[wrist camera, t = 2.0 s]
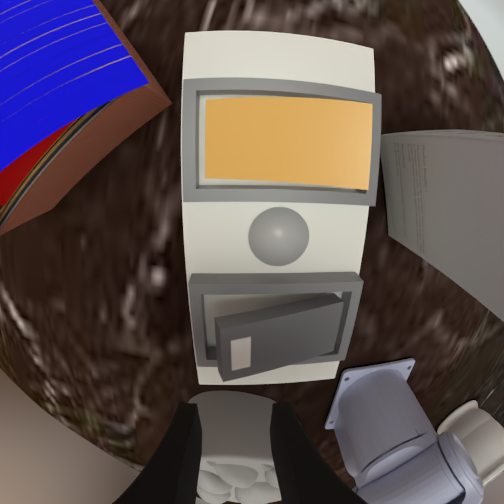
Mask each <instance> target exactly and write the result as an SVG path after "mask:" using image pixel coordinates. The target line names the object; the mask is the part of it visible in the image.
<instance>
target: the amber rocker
mask: <svg viewBox="0 0 504 504" xmlns="http://www.w3.org/2000/svg"><path fill="white" fill-rule="evenodd" d="M372 105H373V104H370V103H362V102H354V101H344V100H334V99H320V98H302V97H241V98H222V99H209V100H206V119H205V179H238V180H259V181H276V182H291V183H304V184H315V185H326V186H336V187H345V188H354V189H362V190H368V187H369V175H370V162H371V144H372Z"/></svg>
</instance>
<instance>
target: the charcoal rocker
mask: <svg viewBox="0 0 504 504" xmlns="http://www.w3.org/2000/svg"><path fill="white" fill-rule="evenodd" d="M343 304H344V301H343V300H342V299H341V298H339V297H338V296H337V295H336V294H334V293H332V294H328V295H324V296H319V297H315V298H311V299H306V300H302V301H297V302H292V303H288V304H283V305H278V306H273V307H268V308H263V309H258V310H253V311H248V312H242V313H237V314H231V315H226V316H220V317H214V322H215V338H216V353H217V366H218V372H219V374H220V376H221V379H222V381H223V382H226V381H230V380H235V379H239V378H243V377H247V376H251V375H255V374H259V373H263V372H267V371H270V370H274V369H277V368H281V367H284V366H288V365H291V364H295V363H298V362H301V361H304V360H307V359H311V358H314V357H317V356H320V355H323V354H326V353H329V352H331V351H333V350H334V346H335V342H336V338H337V333H338V329H339V324H340V319H341V314H342V309H343Z"/></svg>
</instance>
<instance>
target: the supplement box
mask: <svg viewBox="0 0 504 504" xmlns="http://www.w3.org/2000/svg"><path fill="white" fill-rule="evenodd" d="M380 156H381V163H382V170H383V178H384V187H385V197H386V207H387V220H388V235H389V236H390V237H392V238H394V239H395V240H397V241H398V242H399V243H401V244H402V245H404V246H405V247H407V248H408V249H410V250H411V251H413V252H414V253H416V254H417V255H418V256H420V257H421V258H423V259H424V260H426V261H427V262H428V263H430V264H431V265H432V266H434V267H435V268H437V269H438V270H439V271H441V272H442V273H443V274H445V275H446V276H447V277H449V278H450V279H451V280H453V281H454V282H455V283H457V284H458V285H459V286H461V287H462V288H463V289H464V290H466V291H467V292H468V293H470V294H471V295H472V296H473V297H475V298H476V299H477V300H478V301H479V302H481V303H482V304H483V305H484V306H485V307H487V308H488V309H489V310H490V311H492V312H493V313H494V314H495V315H496V316H497V317H498V318H500V319H501V320H502V321H503V322H504V133H495V132H485V131H474V130H456V129H455V130H425V131H411V132H400V133H390V134H383V135H381V140H380Z"/></svg>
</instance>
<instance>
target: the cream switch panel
mask: <svg viewBox="0 0 504 504" xmlns="http://www.w3.org/2000/svg"><path fill="white" fill-rule="evenodd" d="M241 97H302V98H320V99H334V100H344V101H354V102H362V103H370V104H373V105H372V144H371V162H370V175H369V187H368V190H362V189H354V188H345V187H336V186H326V185H315V184H304V183H291V182H276V181H259V180H238V179H205V119H206V100H209V99H222V98H241ZM380 140H381V94H378V93H375V75H374V53H373V49H372V48H368V47H364V46H360V45H355V44H351V43H346V42H341V41H336V40H331V39H325V38H319V37H312V36H305V35H297V34H288V33H277V32H262V31H204V32H189V33H185V43H184V58H183V76H182V103H181V184H182V213H183V233H184V249H185V263H186V276H187V288H188V298H189V308H190V318H191V327H192V335H193V344H194V351H195V359H196V366H197V373H198V380H199V384H207V385H250V384H275V383H291V382H303V381H314V380H324V379H332V378H335V375H336V372H337V368H338V365H339V361H342V360H345V357H346V354H347V350H348V346H349V343H350V339H351V335H352V331H353V327H354V323H355V319H356V314H357V310H358V306H359V301H360V296H361V292H362V287H363V282H364V281H363V280H362V279H361V278H360V277H359V272H360V266H361V260H362V254H363V247H364V241H365V234H366V226H367V219H368V210H369V206H375V204H376V195H377V184H378V173H379V159H380ZM332 293H334V294H336V295H337V296H338V297H339V298H341V299H342V300H343V301H344V304H343V309H342V314H341V319H340V324H339V329H338V333H337V338H336V342H335V346H334V350H333V351H331V352H329V353H326V354H323V355H320V356H317V357H314V358H311V359H307V360H304V361H301V362H298V363H295V364H291V365H288V366H284V367H281V368H277V369H274V370H270V371H267V372H263V373H259V374H255V375H251V376H247V377H243V378H239V379H235V380H230V381H226V382H223V381H222V379H221V376H220V374H219V372H218V366H217V353H216V338H215V322H214V317H220V316H226V315H231V314H237V313H242V312H248V311H253V310H258V309H263V308H268V307H273V306H278V305H283V304H288V303H292V302H297V301H302V300H306V299H311V298H315V297H319V296H324V295H328V294H332Z"/></svg>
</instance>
